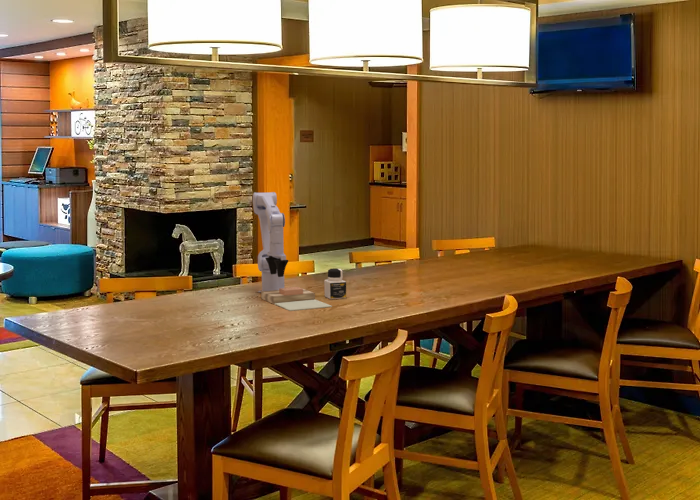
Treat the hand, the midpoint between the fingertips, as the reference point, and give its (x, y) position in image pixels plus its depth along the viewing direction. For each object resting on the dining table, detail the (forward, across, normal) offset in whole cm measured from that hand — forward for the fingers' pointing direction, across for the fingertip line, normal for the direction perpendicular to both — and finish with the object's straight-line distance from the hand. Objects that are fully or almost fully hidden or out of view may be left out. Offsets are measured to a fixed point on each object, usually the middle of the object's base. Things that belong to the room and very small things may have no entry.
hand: (277, 275), depth 373 cm
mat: (+10, +20, +2) cm, 22 cm away
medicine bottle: (+10, +10, +22) cm, 26 cm away
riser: (+10, +5, +2) cm, 11 cm away
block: (+6, +8, +2) cm, 11 cm away
